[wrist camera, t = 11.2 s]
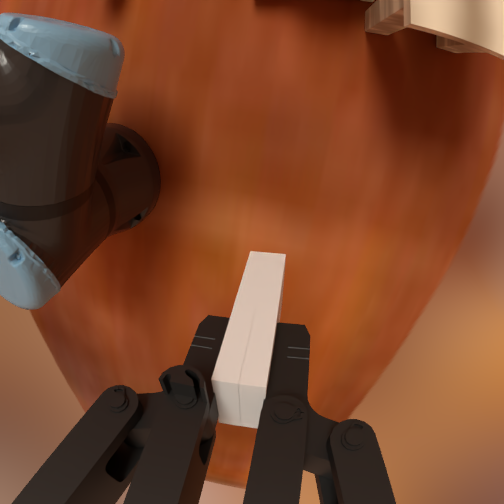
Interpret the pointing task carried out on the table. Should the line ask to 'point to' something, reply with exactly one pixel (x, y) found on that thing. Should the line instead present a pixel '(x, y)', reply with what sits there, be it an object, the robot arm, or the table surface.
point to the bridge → (444, 22)
